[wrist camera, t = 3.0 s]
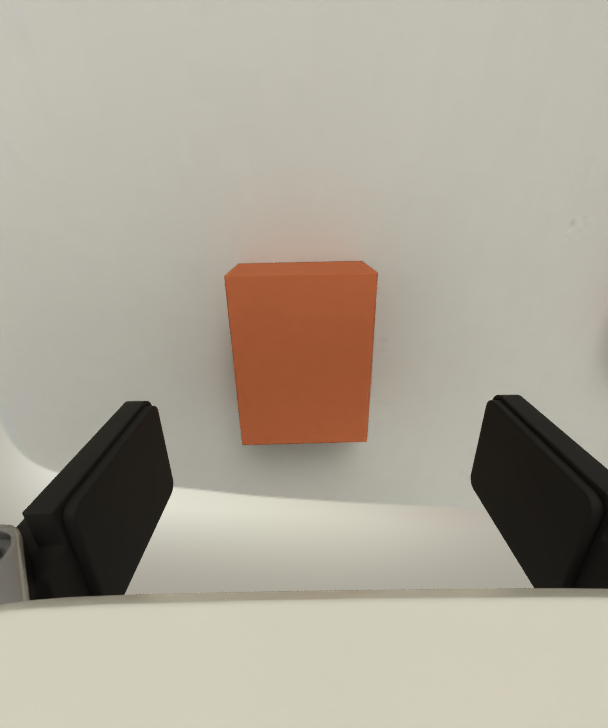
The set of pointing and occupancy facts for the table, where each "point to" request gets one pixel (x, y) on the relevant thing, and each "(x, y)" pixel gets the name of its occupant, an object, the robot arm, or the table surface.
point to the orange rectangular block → (302, 350)
